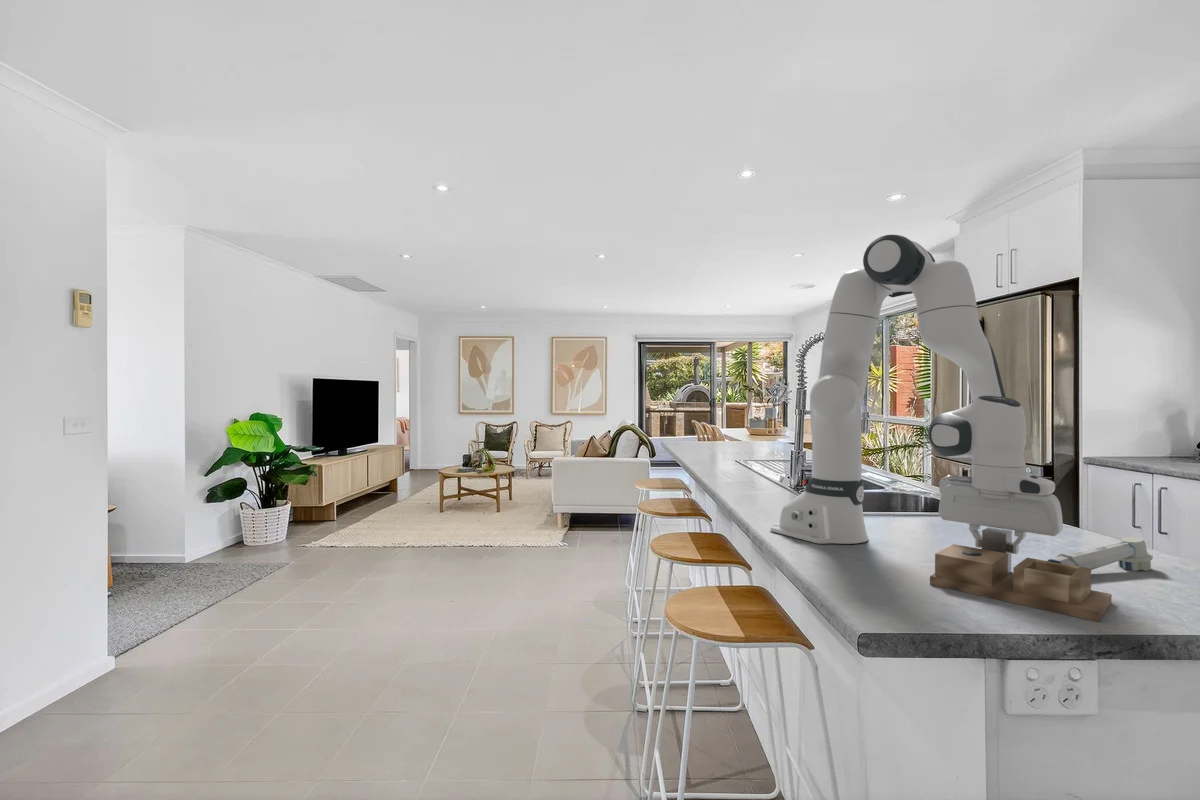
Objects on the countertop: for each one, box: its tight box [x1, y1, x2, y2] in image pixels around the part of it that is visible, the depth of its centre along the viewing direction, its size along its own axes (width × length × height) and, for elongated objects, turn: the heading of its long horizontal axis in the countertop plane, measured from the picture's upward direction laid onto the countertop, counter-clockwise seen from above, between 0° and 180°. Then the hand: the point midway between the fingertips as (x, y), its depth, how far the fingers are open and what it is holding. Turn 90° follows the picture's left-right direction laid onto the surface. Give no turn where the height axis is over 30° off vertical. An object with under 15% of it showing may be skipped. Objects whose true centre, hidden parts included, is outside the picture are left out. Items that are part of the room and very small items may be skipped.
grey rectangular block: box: [981, 526, 1013, 574], centre depth 118 cm, size 4×4×8 cm
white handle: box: [1047, 536, 1154, 572], centre depth 118 cm, size 5×7×25 cm
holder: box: [929, 543, 1113, 622], centre depth 105 cm, size 24×12×6 cm, turn 43°
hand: (996, 550), depth 118 cm, fingers closed on grey rectangular block, 4 cm apart
